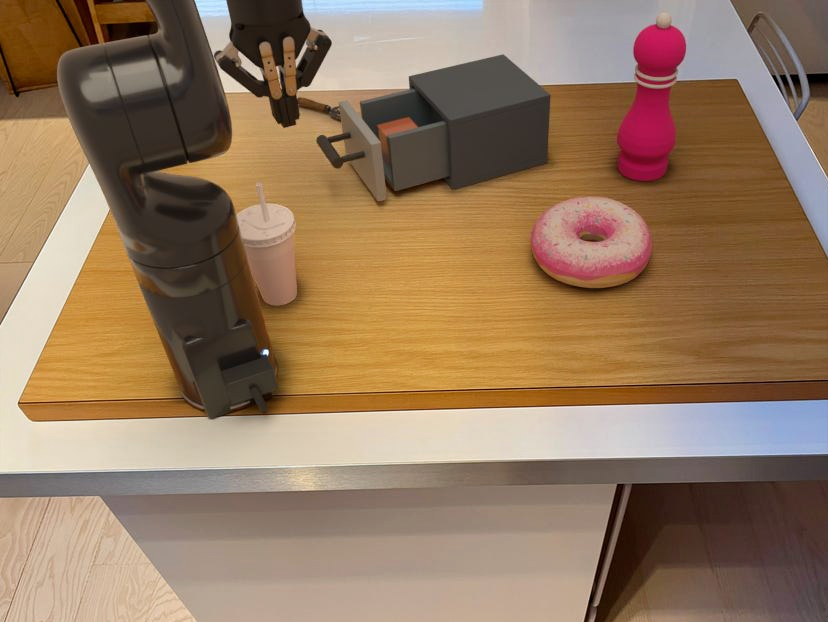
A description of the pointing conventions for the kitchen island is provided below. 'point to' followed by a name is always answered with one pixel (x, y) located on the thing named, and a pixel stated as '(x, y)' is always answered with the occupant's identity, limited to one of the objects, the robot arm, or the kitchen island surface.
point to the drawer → (392, 142)
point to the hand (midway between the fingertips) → (287, 123)
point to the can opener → (319, 107)
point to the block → (391, 129)
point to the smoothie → (270, 249)
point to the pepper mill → (651, 102)
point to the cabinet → (488, 118)
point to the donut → (591, 261)
